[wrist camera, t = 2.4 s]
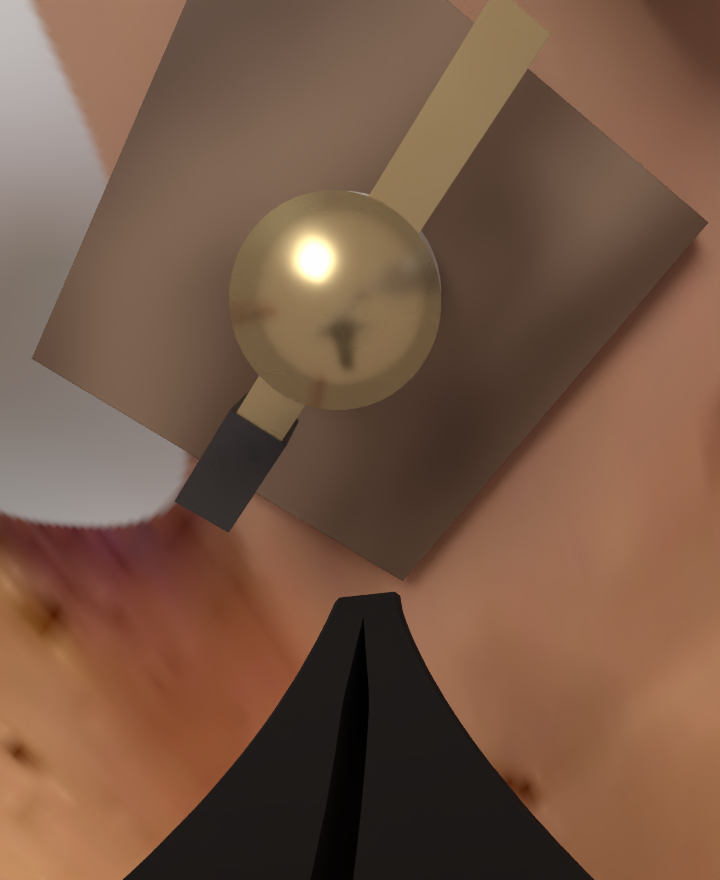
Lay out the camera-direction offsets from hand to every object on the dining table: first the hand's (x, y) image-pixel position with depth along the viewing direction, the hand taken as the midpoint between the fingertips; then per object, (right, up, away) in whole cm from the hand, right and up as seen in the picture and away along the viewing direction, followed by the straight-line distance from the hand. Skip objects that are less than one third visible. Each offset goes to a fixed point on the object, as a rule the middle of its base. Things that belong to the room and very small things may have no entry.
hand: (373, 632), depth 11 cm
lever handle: (-1, +8, +1) cm, 8 cm away
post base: (-1, +9, +4) cm, 10 cm away
